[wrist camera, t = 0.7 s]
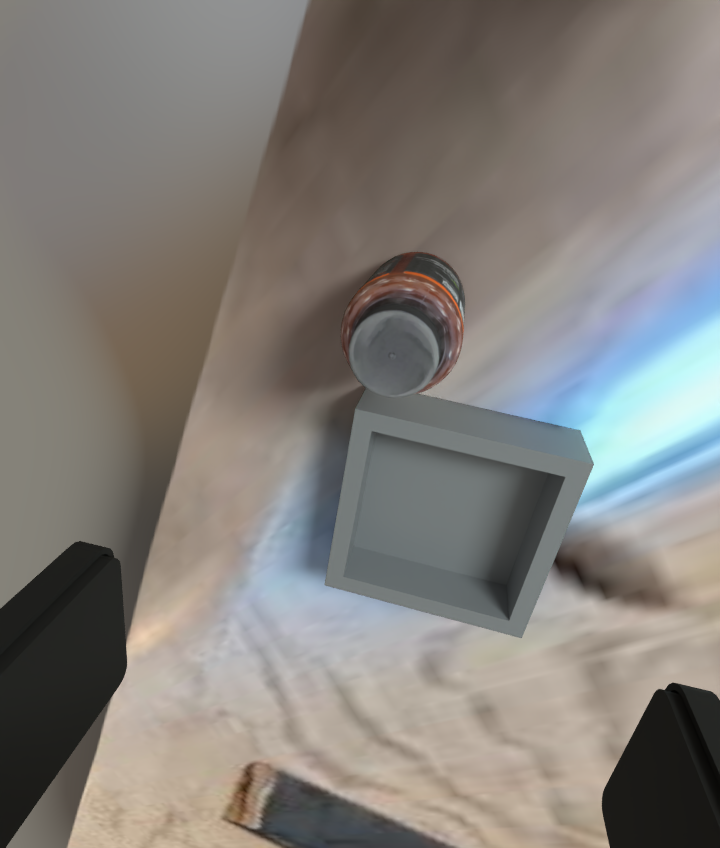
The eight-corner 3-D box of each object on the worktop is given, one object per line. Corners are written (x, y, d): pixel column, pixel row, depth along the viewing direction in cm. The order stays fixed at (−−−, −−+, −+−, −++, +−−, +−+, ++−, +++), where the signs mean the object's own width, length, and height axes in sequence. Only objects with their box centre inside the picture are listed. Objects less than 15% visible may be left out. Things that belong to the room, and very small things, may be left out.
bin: (368, 382, 36) (355, 408, 32) (580, 430, 35) (593, 464, 31) (338, 546, 42) (324, 585, 38) (517, 592, 41) (521, 638, 37)
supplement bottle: (356, 327, 35) (307, 390, 25) (387, 235, 32) (346, 263, 22) (443, 360, 34) (430, 437, 24) (482, 270, 32) (484, 315, 22)
